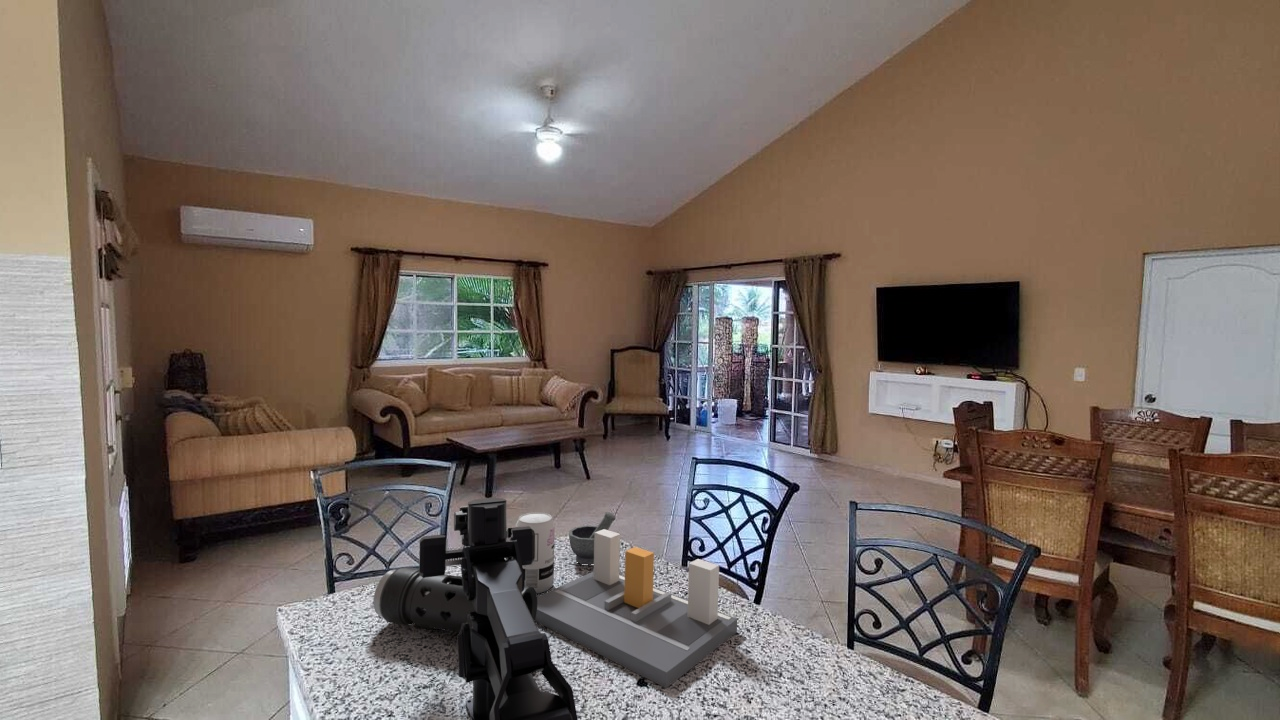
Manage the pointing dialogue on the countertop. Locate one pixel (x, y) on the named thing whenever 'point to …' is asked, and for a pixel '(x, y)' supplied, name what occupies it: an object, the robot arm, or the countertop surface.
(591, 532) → the mortar and pestle
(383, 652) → the countertop surface
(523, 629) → the robot arm
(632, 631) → the slotted gray tray
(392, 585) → the muzzle brake
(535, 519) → the supplement can
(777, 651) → the countertop surface
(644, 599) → the orange tall block
